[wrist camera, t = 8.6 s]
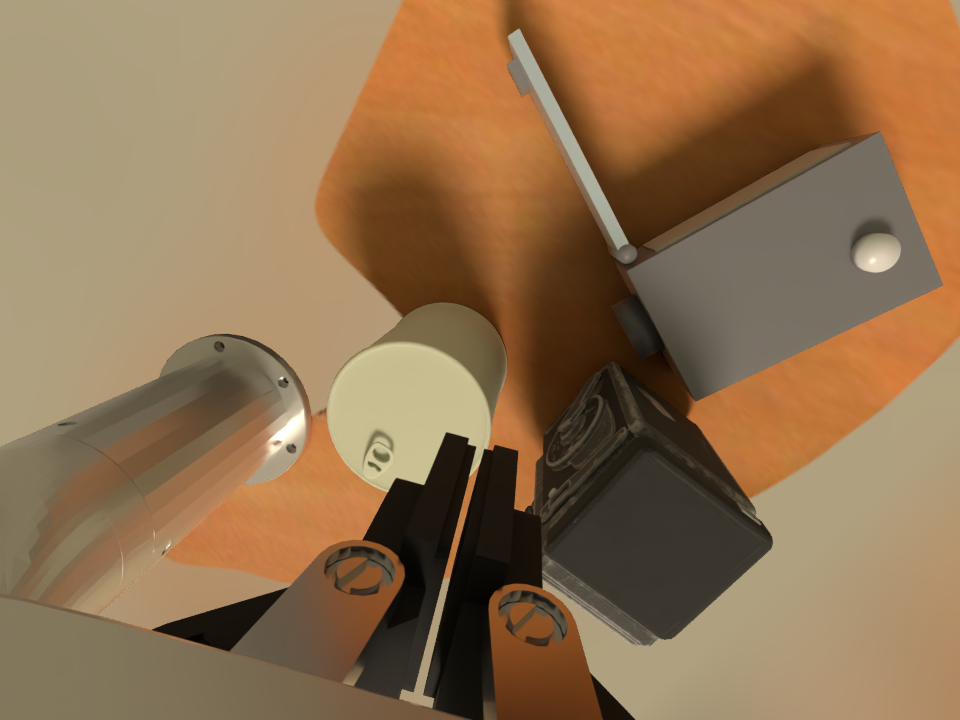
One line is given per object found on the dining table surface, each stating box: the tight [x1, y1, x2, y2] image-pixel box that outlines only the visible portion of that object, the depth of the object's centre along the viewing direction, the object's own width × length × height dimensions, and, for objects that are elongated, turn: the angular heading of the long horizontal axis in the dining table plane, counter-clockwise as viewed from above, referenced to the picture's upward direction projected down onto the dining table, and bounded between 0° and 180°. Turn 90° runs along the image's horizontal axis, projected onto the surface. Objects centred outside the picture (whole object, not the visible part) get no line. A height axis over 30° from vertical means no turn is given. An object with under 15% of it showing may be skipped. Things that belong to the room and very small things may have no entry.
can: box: [327, 302, 507, 492], centre depth 33 cm, size 9×9×12 cm
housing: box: [611, 132, 943, 402], centre depth 32 cm, size 16×9×7 cm, turn 121°
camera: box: [525, 361, 773, 646], centre depth 32 cm, size 10×10×15 cm
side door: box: [507, 29, 637, 264], centre depth 31 cm, size 14×2×5 cm, turn 30°
